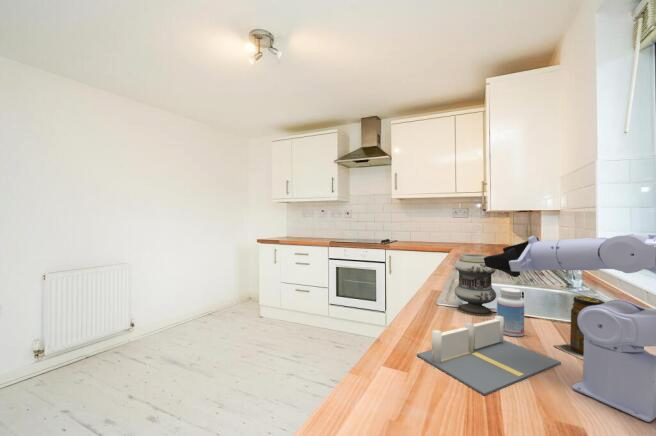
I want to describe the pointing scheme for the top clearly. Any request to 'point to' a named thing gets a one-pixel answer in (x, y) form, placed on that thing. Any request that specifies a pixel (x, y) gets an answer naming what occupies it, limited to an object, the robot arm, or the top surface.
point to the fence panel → (488, 332)
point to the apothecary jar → (474, 284)
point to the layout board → (493, 366)
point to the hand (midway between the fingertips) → (495, 256)
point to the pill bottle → (511, 311)
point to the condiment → (576, 335)
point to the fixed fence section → (452, 342)
